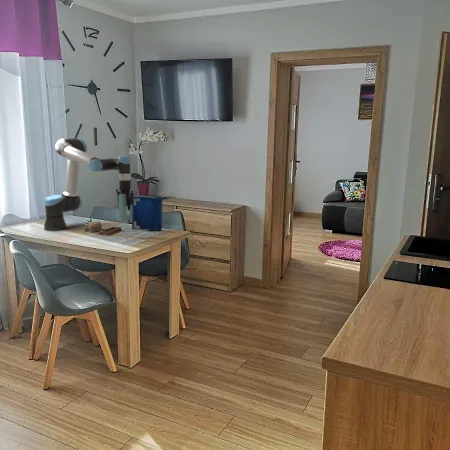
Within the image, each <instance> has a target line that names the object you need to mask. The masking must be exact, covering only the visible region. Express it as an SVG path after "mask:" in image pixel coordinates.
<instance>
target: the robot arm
mask: <svg viewBox="0 0 450 450" xmlns="http://www.w3.org/2000/svg"><path fill="white" fill-rule="evenodd" d="M86 143H87V142H85V141H84V140H83V139H82V138H77V137H75V138H73V137H72V138H69V137H68V138H67V137H66V138H60V139H59V140H57V142H56V143H55V147H54V148H55V152H56V153H57V154H58V155H60V156H61V157H64V158H66V159H67V161H66V162H67V163H66V172H65V173H66V175H65V184H64V185H65V187H64V191H62V193H61V194H53V195H49V196H47V197H46V198H45V199H44V205H45V206H44V207H45V222H44V225H43V229H44V230H45V231H62V230H63V231H64V230H65V229H67V223H66V220H65V219H64V213H69V212H75V211H78V210H80V208H81V207H82V203H83V202H82V201H83V200H82V197H81V196H80V193H78V189H79V188H78V186H79V177H80V175H79V174H80V167H81V165H84V166H86V167H89V169H90V171H92V172H97V173H98V172H105V171H118V180H119V181H118V182H119V183H118V184H119V185H118V186H119V188H117V189H115V191H116V194H117V203H118V204H119V194H126V200H127V205H126V215H130V212H129V210H130V205H132V204H133V196H135V192H136V191H135V189H132V186H131V185H132V179H131V178H132V177H131V176H132V175H131V157H129V156H126V155H120V156H118V158H112V157H111V158H108V157H107V158H98V157H96V156H94V155H91V154H89V153H87V152H88V146H87V144H86ZM129 195H130V196H129Z"/></svg>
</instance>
